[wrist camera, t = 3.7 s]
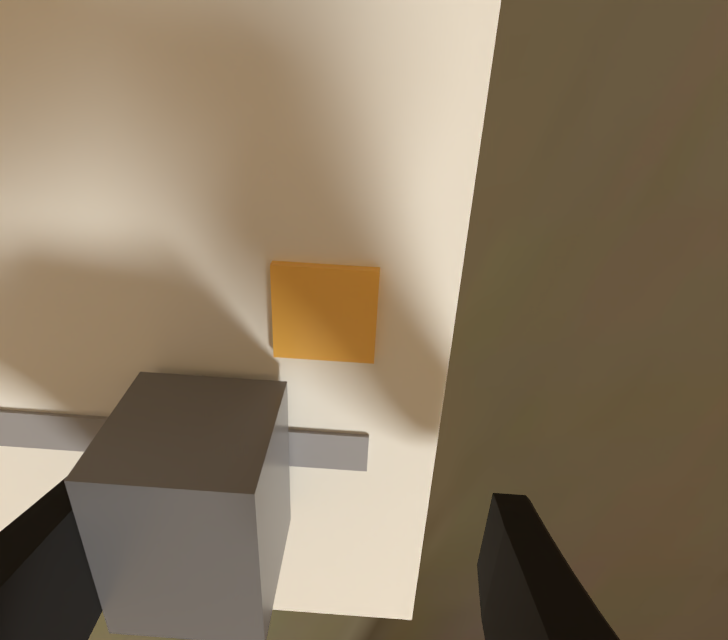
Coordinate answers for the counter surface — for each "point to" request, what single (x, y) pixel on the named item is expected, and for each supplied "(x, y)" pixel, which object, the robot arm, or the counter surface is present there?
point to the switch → (187, 506)
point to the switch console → (245, 244)
